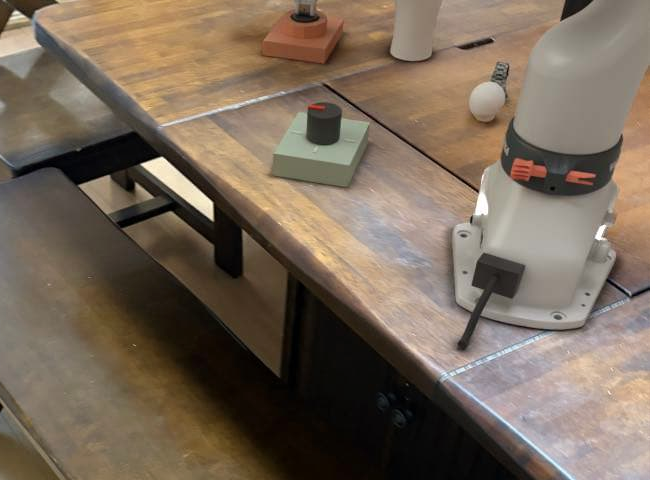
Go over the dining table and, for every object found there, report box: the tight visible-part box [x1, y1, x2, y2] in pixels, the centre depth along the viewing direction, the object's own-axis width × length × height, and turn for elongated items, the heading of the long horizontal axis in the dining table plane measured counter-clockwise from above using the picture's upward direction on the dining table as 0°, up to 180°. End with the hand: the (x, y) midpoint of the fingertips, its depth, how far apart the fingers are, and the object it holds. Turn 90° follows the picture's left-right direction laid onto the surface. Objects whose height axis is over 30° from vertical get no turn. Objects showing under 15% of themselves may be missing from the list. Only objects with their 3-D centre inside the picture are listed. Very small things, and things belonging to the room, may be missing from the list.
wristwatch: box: [489, 60, 511, 99], centre depth 126 cm, size 3×5×5 cm
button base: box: [262, 8, 345, 64], centre depth 138 cm, size 12×10×4 cm
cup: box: [389, 0, 443, 62], centre depth 132 cm, size 10×10×14 cm
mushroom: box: [468, 81, 506, 123], centre depth 121 cm, size 5×5×5 cm
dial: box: [306, 101, 343, 145], centre depth 112 cm, size 4×4×4 cm
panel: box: [272, 111, 371, 188], centre depth 115 cm, size 12×10×3 cm
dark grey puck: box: [292, 12, 318, 23], centre depth 137 cm, size 4×4×2 cm
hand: (305, 14), depth 136 cm, fingers closed, pressing on dark grey puck
